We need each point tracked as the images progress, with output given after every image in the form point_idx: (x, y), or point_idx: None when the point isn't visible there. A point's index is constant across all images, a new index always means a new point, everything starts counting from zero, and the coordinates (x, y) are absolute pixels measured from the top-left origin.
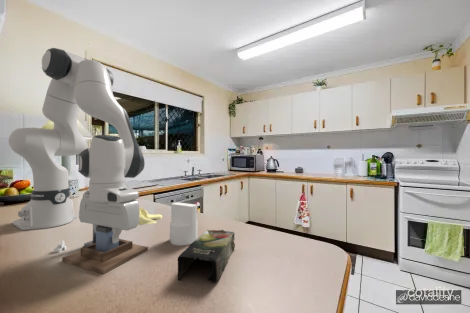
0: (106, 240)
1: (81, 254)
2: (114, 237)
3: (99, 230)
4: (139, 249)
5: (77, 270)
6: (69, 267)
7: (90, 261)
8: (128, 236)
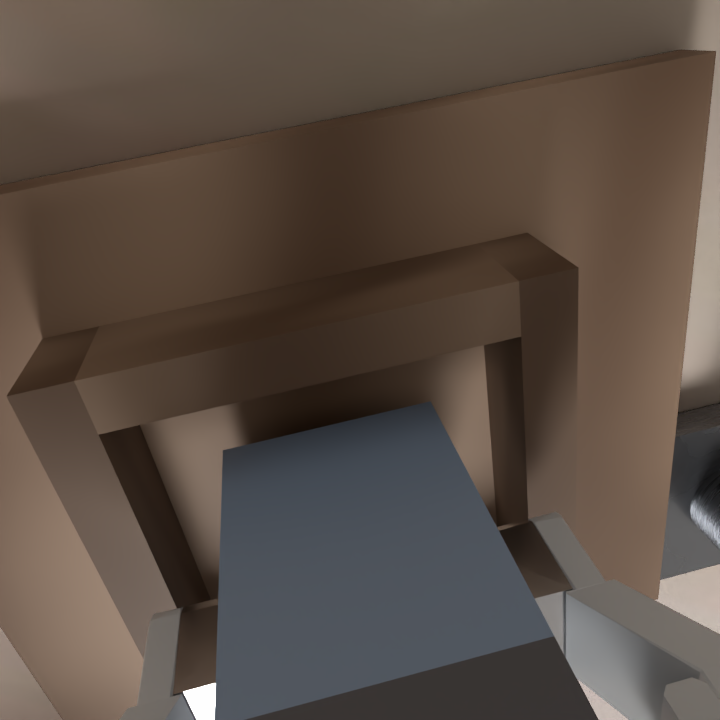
0: (224, 593)
1: (518, 244)
2: (144, 712)
3: (445, 696)
4: (92, 691)
5: (209, 57)
6: (405, 29)
7: (221, 243)
8: (591, 701)
